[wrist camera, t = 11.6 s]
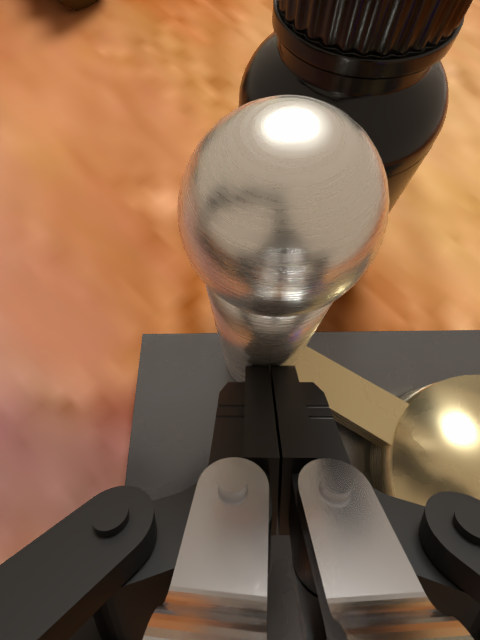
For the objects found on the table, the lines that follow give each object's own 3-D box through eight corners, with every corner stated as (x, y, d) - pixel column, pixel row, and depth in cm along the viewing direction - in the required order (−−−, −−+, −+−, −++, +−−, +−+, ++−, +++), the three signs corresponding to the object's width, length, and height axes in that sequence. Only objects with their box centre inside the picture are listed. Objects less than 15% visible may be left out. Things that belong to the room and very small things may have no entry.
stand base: (113, 712, 11) (92, 755, 9) (151, 343, 16) (142, 333, 14) (790, 719, 10) (881, 765, 9) (611, 338, 15) (649, 327, 14)
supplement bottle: (237, 294, 17) (219, 2, 6) (243, 196, 19) (237, -140, 8) (366, 298, 17) (609, 1, 5) (354, 198, 19) (504, -145, 8)
